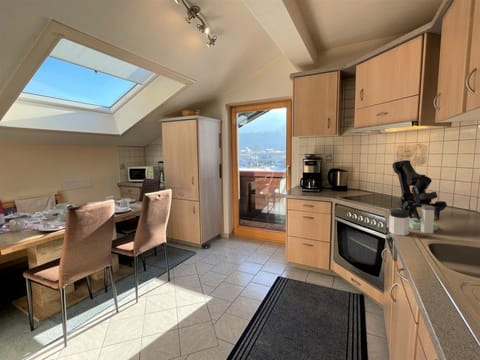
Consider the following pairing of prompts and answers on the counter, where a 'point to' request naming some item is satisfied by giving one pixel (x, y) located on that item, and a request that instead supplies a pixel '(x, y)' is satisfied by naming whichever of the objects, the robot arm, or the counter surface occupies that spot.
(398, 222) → the jar
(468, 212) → the counter surface
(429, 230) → the plug
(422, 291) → the counter surface
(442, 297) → the counter surface
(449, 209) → the counter surface
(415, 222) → the socket
